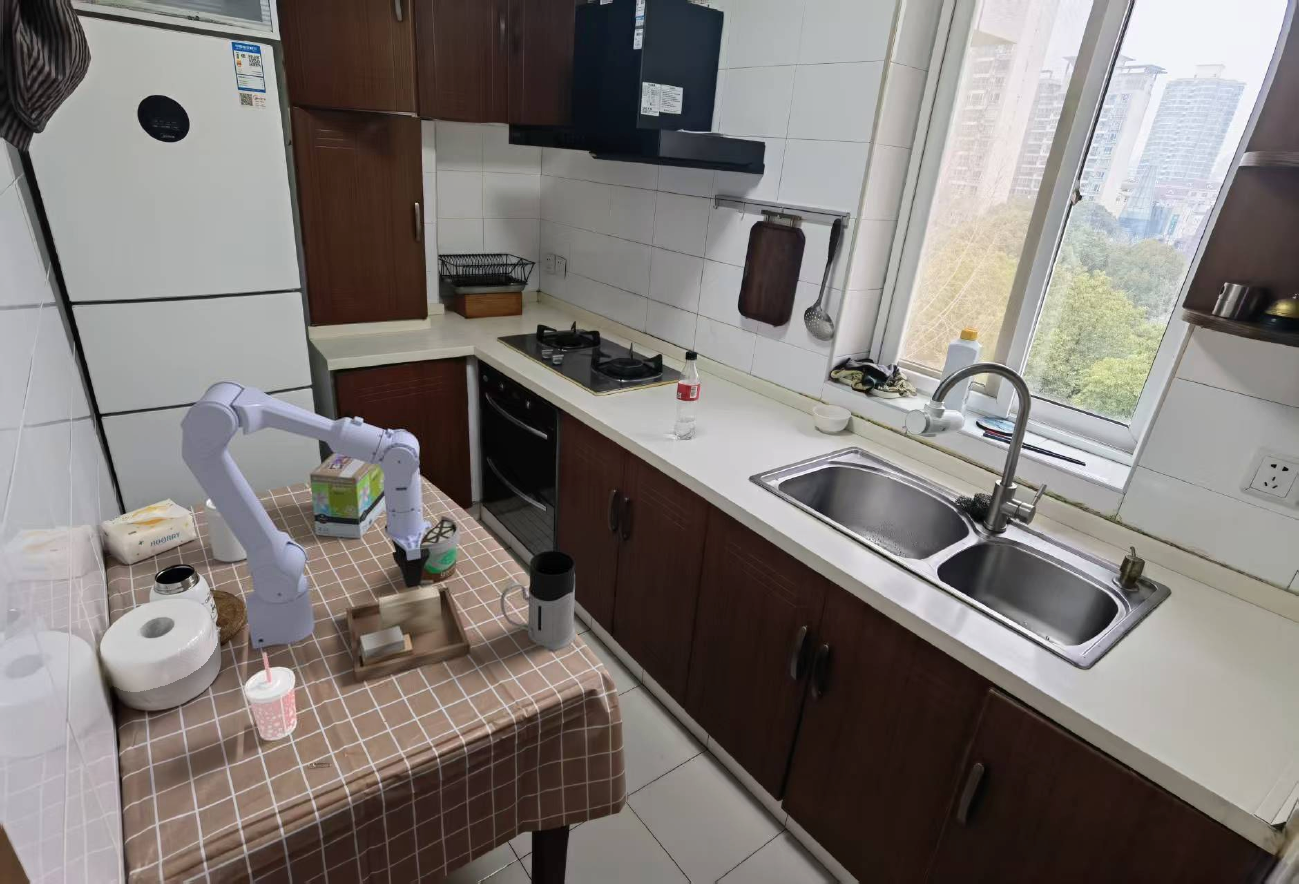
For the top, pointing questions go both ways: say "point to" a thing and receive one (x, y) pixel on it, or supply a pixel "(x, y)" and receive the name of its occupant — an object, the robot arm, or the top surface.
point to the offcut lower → (392, 656)
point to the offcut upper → (382, 643)
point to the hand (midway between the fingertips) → (409, 573)
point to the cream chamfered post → (412, 611)
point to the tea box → (346, 496)
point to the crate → (425, 645)
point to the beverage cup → (273, 701)
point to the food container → (440, 551)
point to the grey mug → (549, 600)
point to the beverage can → (222, 536)
